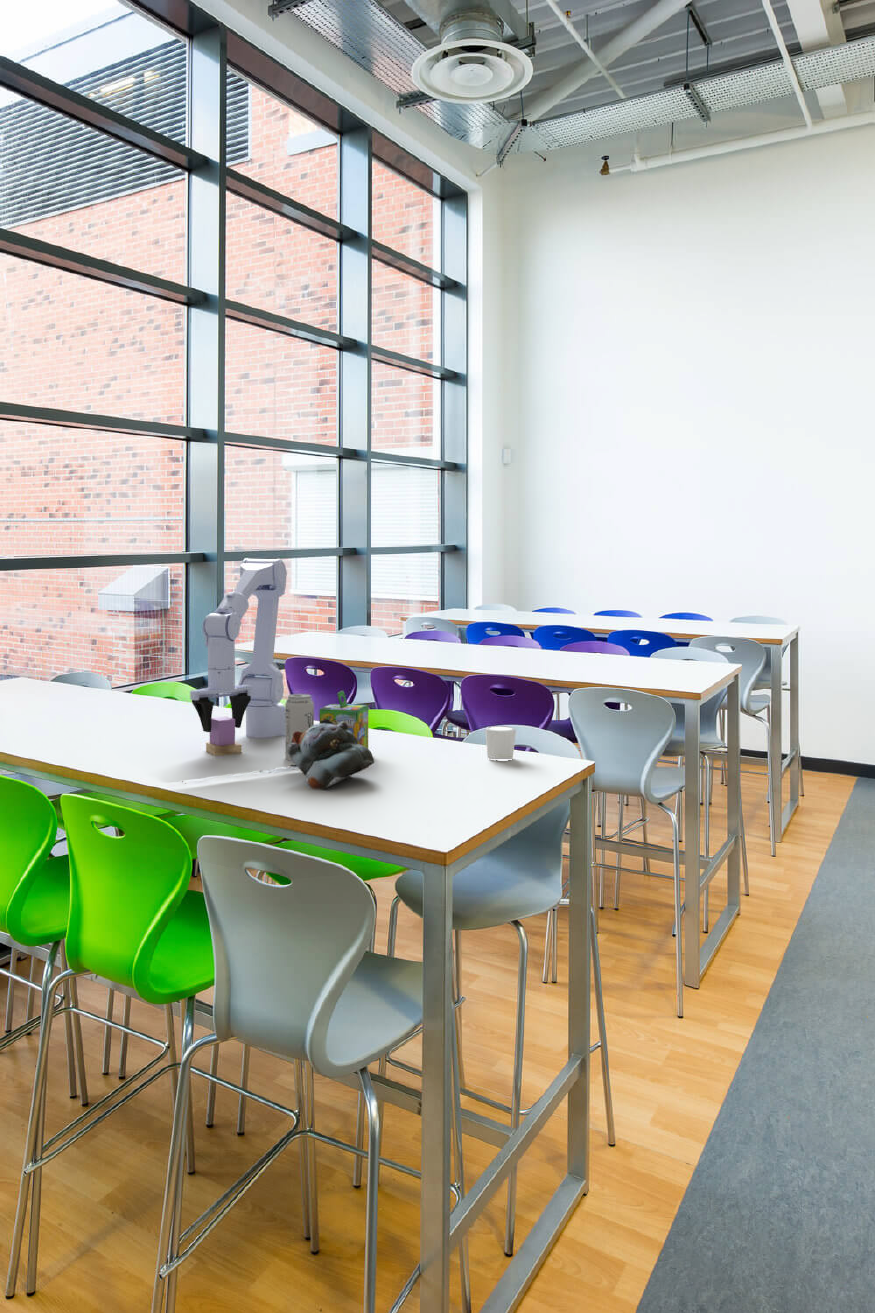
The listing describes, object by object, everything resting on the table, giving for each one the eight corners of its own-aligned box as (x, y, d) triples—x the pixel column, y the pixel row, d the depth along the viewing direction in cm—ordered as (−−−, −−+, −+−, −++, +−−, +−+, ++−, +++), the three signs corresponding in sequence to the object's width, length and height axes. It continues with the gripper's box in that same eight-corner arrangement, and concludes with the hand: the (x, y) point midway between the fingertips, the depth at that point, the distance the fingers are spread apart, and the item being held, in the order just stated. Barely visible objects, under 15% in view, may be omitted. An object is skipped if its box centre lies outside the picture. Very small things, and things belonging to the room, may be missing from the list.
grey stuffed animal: (314, 793, 169) (285, 726, 171) (302, 803, 179) (275, 739, 182) (384, 764, 175) (355, 699, 177) (368, 775, 186) (341, 714, 188)
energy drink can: (308, 768, 190) (308, 698, 188) (281, 766, 191) (281, 696, 189) (317, 762, 195) (317, 694, 194) (291, 760, 197) (291, 693, 195)
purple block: (225, 740, 201) (225, 716, 200) (234, 743, 198) (235, 719, 197) (209, 742, 198) (209, 718, 198) (218, 745, 195) (218, 720, 195)
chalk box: (358, 762, 196) (358, 695, 194) (318, 760, 198) (318, 693, 196) (369, 754, 205) (370, 690, 203) (331, 752, 207) (331, 688, 205)
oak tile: (232, 748, 202) (232, 740, 202) (241, 754, 197) (241, 745, 197) (206, 751, 199) (206, 742, 199) (214, 756, 194) (214, 747, 194)
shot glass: (479, 759, 200) (480, 729, 200) (492, 754, 207) (493, 724, 206) (508, 763, 197) (508, 732, 197) (520, 757, 203) (520, 727, 203)
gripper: (238, 664, 204) (239, 723, 206) (182, 668, 194) (183, 730, 195) (257, 667, 199) (257, 727, 201) (200, 672, 189) (200, 735, 190)
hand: (222, 729), depth 198 cm, fingers open, 7 cm apart
